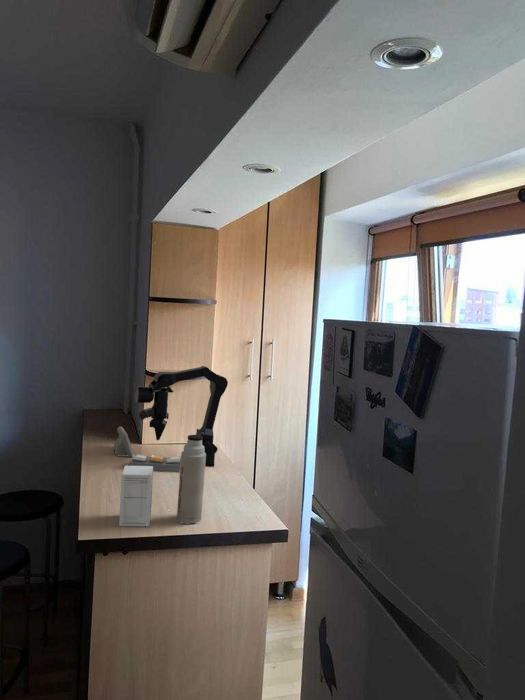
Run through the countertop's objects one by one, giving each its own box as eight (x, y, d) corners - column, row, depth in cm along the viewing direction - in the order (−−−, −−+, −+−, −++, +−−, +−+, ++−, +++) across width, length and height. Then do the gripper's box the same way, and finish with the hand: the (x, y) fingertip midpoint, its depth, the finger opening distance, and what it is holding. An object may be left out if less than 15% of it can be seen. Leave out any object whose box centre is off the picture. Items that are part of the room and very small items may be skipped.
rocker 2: (180, 459, 231) (179, 456, 231) (179, 461, 228) (179, 458, 228) (167, 460, 231) (167, 457, 231) (166, 462, 228) (166, 459, 228)
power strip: (181, 465, 237) (181, 457, 237) (179, 472, 227) (180, 465, 227) (133, 462, 235) (134, 455, 235) (130, 469, 225) (130, 462, 225)
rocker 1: (145, 459, 230) (146, 456, 230) (145, 461, 227) (145, 458, 227) (133, 456, 229) (134, 453, 229) (132, 458, 226) (133, 455, 226)
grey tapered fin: (133, 458, 240) (135, 435, 239) (112, 458, 239) (113, 434, 238) (134, 448, 256) (135, 426, 255) (114, 447, 254) (115, 425, 253)
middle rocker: (162, 459, 231) (163, 456, 230) (162, 462, 228) (162, 459, 227) (150, 457, 230) (151, 454, 230) (149, 459, 227) (150, 456, 227)
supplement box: (151, 515, 182) (154, 465, 180) (149, 527, 173) (152, 474, 171) (121, 514, 180) (124, 464, 179) (118, 526, 171) (121, 473, 170)
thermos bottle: (175, 523, 177) (181, 438, 174) (177, 514, 185) (183, 432, 182) (200, 525, 177) (207, 440, 175) (201, 515, 185) (207, 433, 183)
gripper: (143, 397, 237) (141, 432, 238) (137, 405, 219) (135, 444, 220) (169, 399, 238) (167, 434, 239) (166, 407, 220) (163, 446, 221)
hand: (158, 439), depth 230 cm, fingers closed
